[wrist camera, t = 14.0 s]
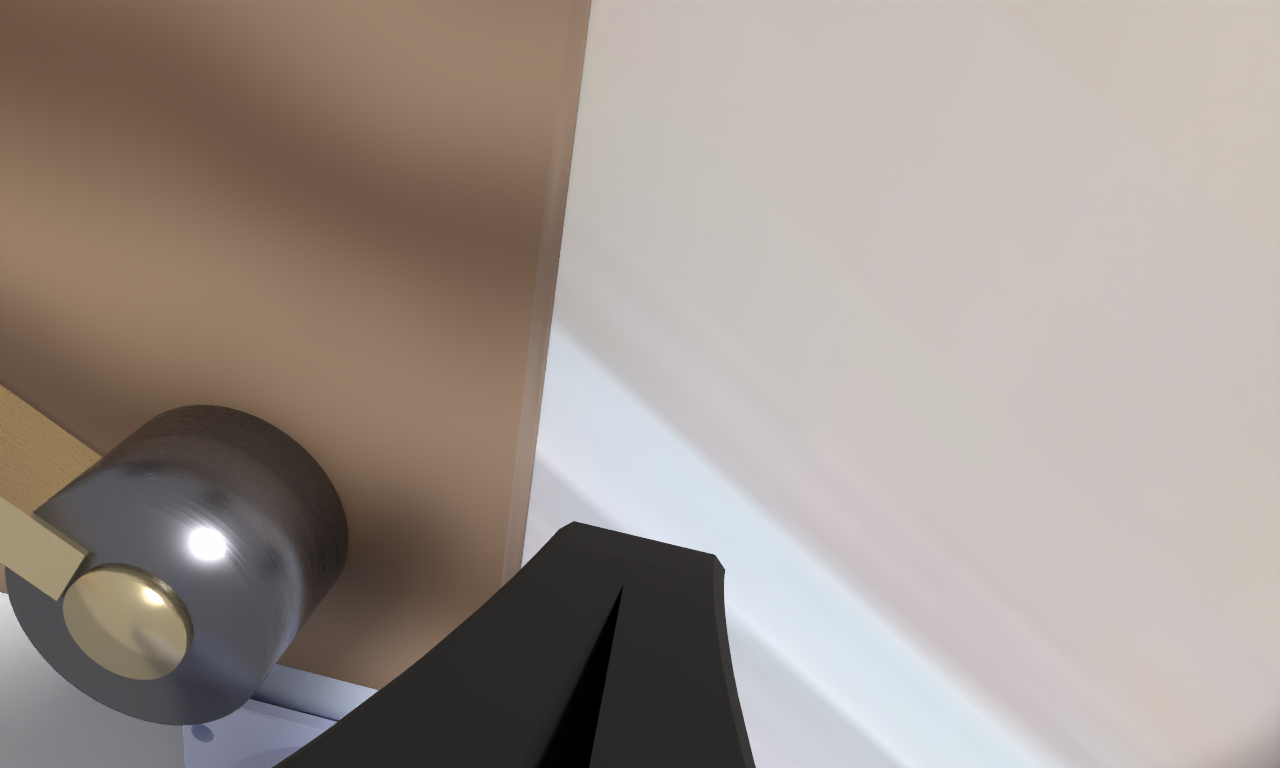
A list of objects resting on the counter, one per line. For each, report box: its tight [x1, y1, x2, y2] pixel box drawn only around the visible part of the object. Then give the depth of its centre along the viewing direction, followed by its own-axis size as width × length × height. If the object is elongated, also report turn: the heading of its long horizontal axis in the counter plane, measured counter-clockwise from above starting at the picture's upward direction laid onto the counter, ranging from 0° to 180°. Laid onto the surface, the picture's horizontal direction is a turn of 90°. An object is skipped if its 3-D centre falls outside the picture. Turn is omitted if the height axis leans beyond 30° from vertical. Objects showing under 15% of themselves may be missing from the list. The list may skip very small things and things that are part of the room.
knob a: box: [0, 384, 349, 725], centre depth 18 cm, size 11×4×3 cm, turn 53°
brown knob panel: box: [0, 0, 591, 690], centre depth 17 cm, size 21×17×4 cm
